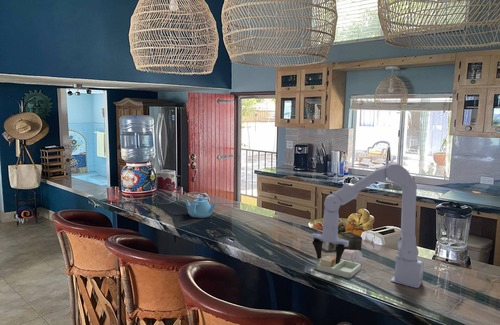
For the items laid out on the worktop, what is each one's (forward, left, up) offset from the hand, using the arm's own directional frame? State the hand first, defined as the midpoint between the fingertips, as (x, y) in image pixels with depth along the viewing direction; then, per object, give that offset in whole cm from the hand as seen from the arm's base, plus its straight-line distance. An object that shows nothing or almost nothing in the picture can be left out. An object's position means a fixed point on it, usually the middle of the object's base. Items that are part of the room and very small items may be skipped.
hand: (328, 260), depth 150 cm
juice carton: (+8, -31, -4) cm, 32 cm away
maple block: (0, +1, -3) cm, 3 cm away
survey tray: (-3, -2, -4) cm, 6 cm away
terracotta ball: (0, -5, -3) cm, 6 cm away
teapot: (+94, -31, -4) cm, 99 cm away
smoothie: (+2, -16, -1) cm, 16 cm away
